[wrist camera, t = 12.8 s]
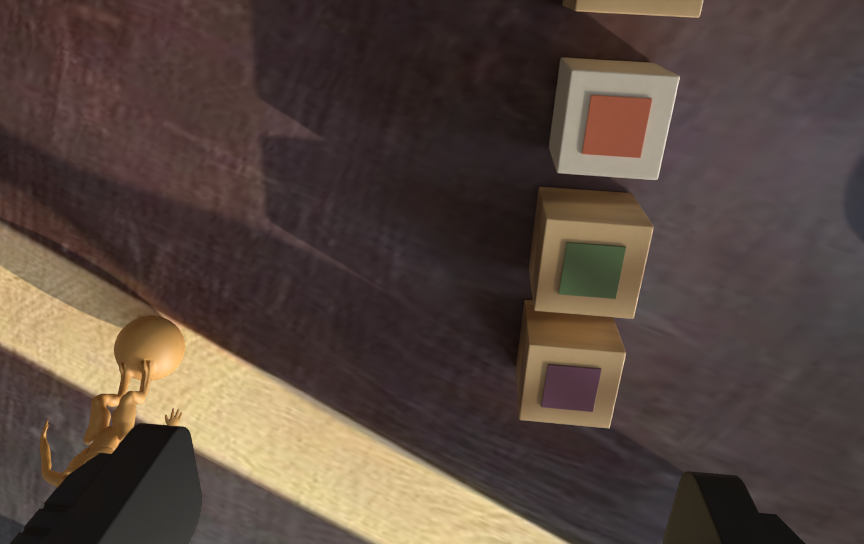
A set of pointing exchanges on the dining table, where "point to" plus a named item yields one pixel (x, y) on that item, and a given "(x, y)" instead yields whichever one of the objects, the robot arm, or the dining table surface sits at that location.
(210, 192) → the dining table surface
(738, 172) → the dining table surface
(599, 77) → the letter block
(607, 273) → the block row
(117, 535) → the robot arm
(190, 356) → the dining table surface
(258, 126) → the dining table surface
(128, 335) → the figurine
